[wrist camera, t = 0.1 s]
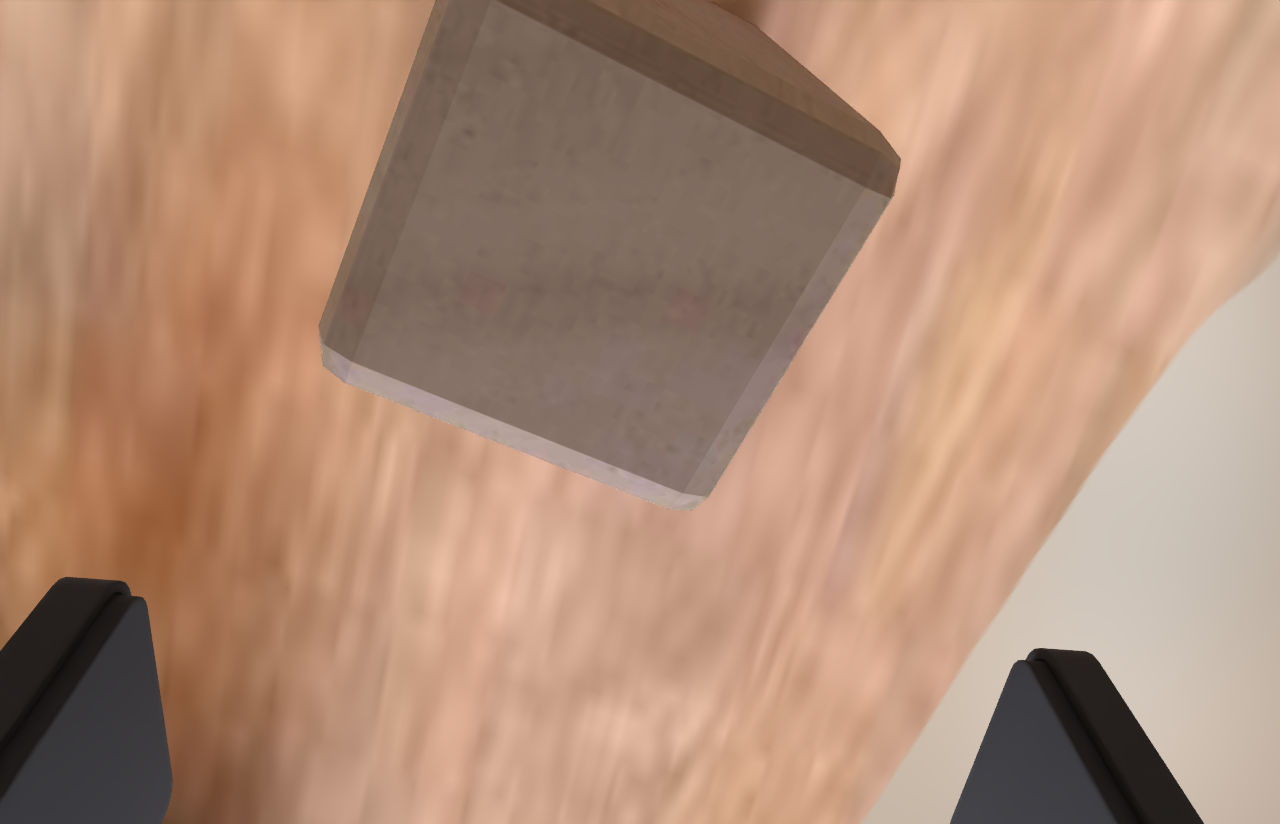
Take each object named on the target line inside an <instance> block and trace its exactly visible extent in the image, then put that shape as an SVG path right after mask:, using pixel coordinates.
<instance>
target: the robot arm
mask: <svg viewBox="0 0 1280 824" xmlns="http://www.w3.org/2000/svg"><path fill="white" fill-rule="evenodd" d="M172 783H173V781H172V771H171V764H170V757H169V750H168V743H167V737H166V730H165V723H164V716H163V710H162V703H161V696H160V689H159V682H158V676H157V669H156V662H155V655H154V649H153V642H152V635H151V628H150V621H149V615H148V608H147V604H146V601H145V600H144V598H143V597H138V596H131V592H130V589H129V587H128V585H127V584H126V583H125V582H122V581H115V580H102V579H88V578H74V577H64V578H62V579H59V580H58V581H57V582H56V583H55V584H54V585H53V586H52V587H51V588H50V590H49V591H48V592H47V593H46V595H45V596H44V597H43V598H42V600H41V601H40V602H39V603H38V605H37V606H36V607H35V608H34V610H33V611H32V612H31V613H30V615H29V616H28V617H27V618H26V620H25V621H24V622H23V623H22V625H21V626H20V627H19V628H18V630H17V631H16V632H15V633H14V635H13V636H12V637H11V638H10V640H9V641H8V642H7V643H6V645H5V646H4V647H3V648H2V650H1V651H0V824H161V823H162V820H163V818H164V816H165V814H166V811H167V809H168V805H169V802H170V798H171V792H172ZM950 824H1204V823H1203V821H1202V820H1201V818H1200V817H1199V815H1198V814H1197V812H1196V810H1195V809H1194V808H1193V806H1192V805H1191V803H1190V801H1189V800H1188V798H1187V797H1186V795H1185V794H1184V792H1183V790H1182V789H1181V787H1180V786H1179V784H1178V783H1177V781H1176V780H1175V778H1174V777H1173V775H1172V774H1171V772H1170V770H1169V769H1168V767H1167V766H1166V764H1165V763H1164V761H1163V760H1162V758H1161V757H1160V756H1159V754H1158V752H1157V750H1156V749H1155V748H1154V746H1153V744H1152V743H1151V741H1150V740H1149V738H1148V737H1147V735H1146V734H1145V732H1144V730H1143V729H1142V727H1141V726H1140V724H1139V723H1138V721H1137V720H1136V718H1135V717H1134V715H1133V714H1132V712H1131V710H1130V709H1129V707H1128V706H1127V704H1126V703H1125V701H1124V700H1123V698H1122V697H1121V695H1120V694H1119V692H1118V691H1117V689H1116V687H1115V686H1114V684H1113V683H1112V681H1111V680H1110V678H1109V677H1108V675H1107V674H1106V672H1105V670H1104V669H1103V667H1102V666H1101V664H1100V663H1099V662H1098V660H1097V659H1096V658H1095V657H1094V656H1093V655H1092V654H1090V653H1088V652H1086V651H1073V650H1059V649H1045V648H1038V649H1034V650H1033V651H1031V652H1030V653H1029V655H1028V657H1027V659H1026V660H1018V661H1017V662H1016V663H1015V664H1014V665H1013V667H1012V669H1011V671H1010V673H1009V676H1008V678H1007V681H1006V683H1005V686H1004V688H1003V691H1002V694H1001V696H1000V698H999V701H998V703H997V706H996V709H995V711H994V714H993V716H992V718H991V721H990V723H989V726H988V729H987V731H986V734H985V736H984V739H983V741H982V744H981V746H980V749H979V751H978V754H977V756H976V759H975V761H974V764H973V766H972V769H971V771H970V774H969V776H968V779H967V781H966V784H965V787H964V789H963V791H962V794H961V797H960V799H959V801H958V804H957V806H956V809H955V812H954V814H953V817H952V819H951V822H950Z"/></svg>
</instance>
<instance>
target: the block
mask: <svg viewBox="0 0 1280 824" xmlns="http://www.w3.org/2000/svg"><path fill="white" fill-rule="evenodd" d="M900 161H901V159H900V157H899V156H898V155H897V153H896V152H895V151H894V149H893V148H892V147H891V145H890V144H889V143H888V141H887V140H886V139H885V137H884V136H883V135H882V133H881V132H880V131H879V130H878V129H877V128H876V127H875V126H873V125H872V124H871V123H870V122H869V121H867V120H866V119H865V118H864V117H863V116H862V115H860V114H859V113H858V112H857V111H856V110H854V109H853V108H852V107H851V106H850V105H849V104H847V103H846V102H845V101H844V100H843V99H841V98H840V97H839V96H838V95H837V94H836V93H834V92H833V91H832V90H831V89H830V88H829V87H827V86H826V85H825V84H824V83H823V82H821V81H820V80H819V79H818V78H817V77H816V76H814V75H813V74H812V73H811V72H810V71H808V70H807V69H806V68H805V67H804V66H803V65H801V64H800V63H799V62H798V61H797V60H795V59H794V58H793V57H792V56H791V55H790V54H788V53H787V52H786V51H785V50H784V49H782V48H781V47H780V46H779V45H778V44H777V43H775V42H774V41H773V40H772V39H771V38H769V37H768V36H767V35H766V34H765V33H764V32H762V31H761V30H760V29H759V28H758V27H757V26H755V25H753V24H751V23H749V22H747V21H745V20H744V19H742V18H740V17H738V16H736V15H734V14H732V13H730V12H729V11H727V10H725V9H723V8H721V7H719V6H717V5H716V4H714V3H712V2H710V1H708V0H436V1H435V4H434V7H433V10H432V12H431V15H430V18H429V21H428V23H427V26H426V29H425V32H424V35H423V37H422V40H421V43H420V46H419V48H418V51H417V54H416V57H415V60H414V62H413V65H412V68H411V71H410V73H409V76H408V79H407V82H406V84H405V87H404V90H403V93H402V96H401V98H400V101H399V104H398V107H397V109H396V112H395V115H394V118H393V121H392V123H391V126H390V129H389V132H388V134H387V137H386V140H385V143H384V146H383V148H382V151H381V154H380V157H379V159H378V162H377V165H376V168H375V171H374V173H373V176H372V179H371V182H370V184H369V187H368V190H367V193H366V196H365V198H364V201H363V204H362V207H361V209H360V212H359V215H358V218H357V221H356V223H355V226H354V229H353V232H352V234H351V237H350V240H349V243H348V245H347V248H346V251H345V254H344V257H343V259H342V262H341V265H340V268H339V270H338V273H337V276H336V279H335V282H334V284H333V287H332V290H331V293H330V295H329V298H328V301H327V304H326V307H325V309H324V312H323V315H322V318H321V320H320V323H319V334H320V344H321V353H322V363H323V366H324V367H325V368H327V369H328V370H329V371H330V372H332V373H333V374H334V375H336V376H337V377H338V378H339V379H341V380H342V381H343V382H345V383H347V384H349V385H352V386H354V387H357V388H359V389H362V390H365V391H367V392H370V393H372V394H375V395H377V396H380V397H382V398H385V399H388V400H390V401H393V402H395V403H398V404H400V405H403V406H405V407H408V408H411V409H413V410H416V411H418V412H421V413H423V414H426V415H428V416H431V417H434V418H436V419H439V420H441V421H444V422H446V423H449V424H451V425H454V426H457V427H459V428H462V429H464V430H467V431H469V432H472V433H475V434H477V435H480V436H482V437H485V438H487V439H490V440H492V441H495V442H498V443H500V444H503V445H505V446H508V447H510V448H513V449H515V450H518V451H521V452H523V453H526V454H528V455H531V456H533V457H536V458H538V459H541V460H544V461H546V462H549V463H551V464H554V465H556V466H559V467H561V468H564V469H567V470H569V471H572V472H574V473H577V474H579V475H582V476H584V477H587V478H590V479H592V480H595V481H597V482H600V483H602V484H605V485H607V486H610V487H613V488H615V489H618V490H620V491H623V492H625V493H628V494H631V495H633V496H636V497H638V498H641V499H643V500H646V501H648V502H651V503H654V504H656V505H659V506H661V507H664V508H666V509H672V510H691V511H692V510H693V509H694V508H696V507H697V506H698V505H699V504H700V503H702V502H703V501H704V500H705V499H707V498H708V497H709V495H710V494H711V492H712V491H713V489H714V488H715V486H716V485H717V483H718V481H719V480H720V478H721V477H722V475H723V473H724V472H725V470H726V468H727V467H728V465H729V463H730V462H731V460H732V459H733V457H734V455H735V454H736V452H737V450H738V449H739V447H740V446H741V444H742V442H743V441H744V439H745V437H746V436H747V434H748V432H749V431H750V429H751V428H752V426H753V424H754V423H755V421H756V419H757V418H758V416H759V415H760V413H761V411H762V410H763V408H764V406H765V405H766V403H767V401H768V400H769V398H770V397H771V395H772V393H773V392H774V390H775V388H776V387H777V385H778V384H779V382H780V380H781V379H782V377H783V375H784V374H785V372H786V370H787V369H788V367H789V366H790V364H791V362H792V361H793V359H794V357H795V356H796V354H797V353H798V351H799V349H800V348H801V346H802V344H803V343H804V341H805V340H806V338H807V336H808V335H809V333H810V331H811V330H812V328H813V326H814V325H815V323H816V322H817V320H818V318H819V317H820V315H821V313H822V312H823V310H824V309H825V307H826V305H827V304H828V302H829V300H830V299H831V297H832V295H833V294H834V292H835V291H836V289H837V287H838V286H839V284H840V282H841V281H842V279H843V278H844V276H845V274H846V273H847V271H848V269H849V268H850V266H851V264H852V263H853V261H854V260H855V258H856V256H857V255H858V253H859V251H860V250H861V248H862V247H863V245H864V243H865V242H866V240H867V238H868V237H869V235H870V233H871V232H872V230H873V229H874V227H875V225H876V224H877V222H878V220H879V219H880V217H881V216H882V214H883V212H884V211H885V209H886V207H887V206H888V204H889V202H890V201H891V199H892V198H893V196H894V192H895V187H896V182H897V176H898V173H899V169H900Z"/></svg>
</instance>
